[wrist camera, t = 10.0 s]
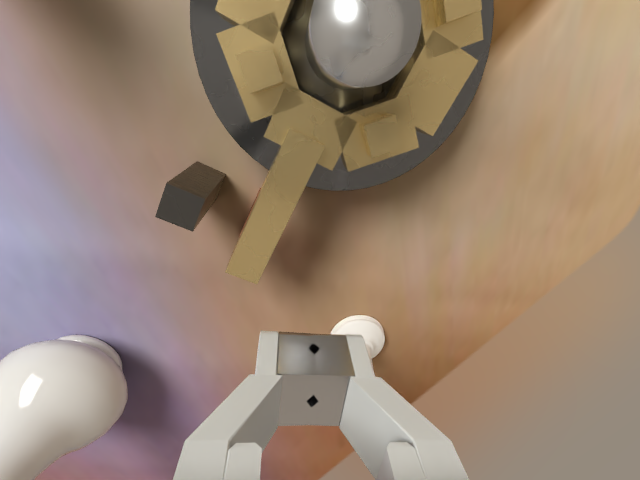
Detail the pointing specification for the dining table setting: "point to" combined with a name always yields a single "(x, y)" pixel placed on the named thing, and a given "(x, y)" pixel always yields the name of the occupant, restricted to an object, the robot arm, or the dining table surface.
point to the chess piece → (363, 332)
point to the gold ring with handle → (327, 123)
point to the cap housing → (318, 88)
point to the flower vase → (56, 401)
